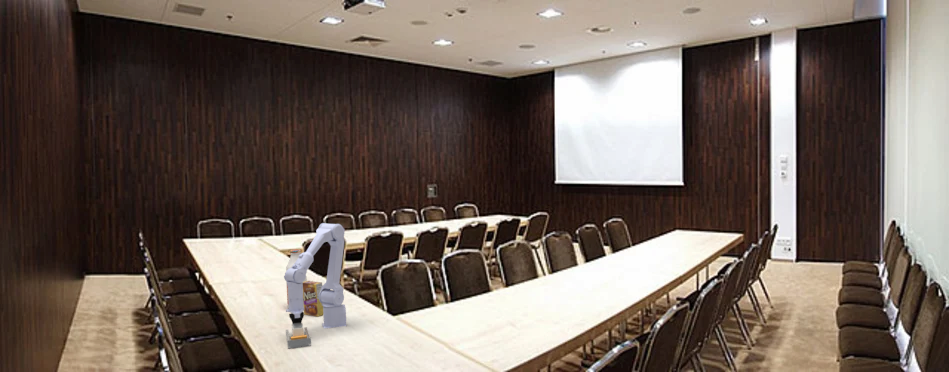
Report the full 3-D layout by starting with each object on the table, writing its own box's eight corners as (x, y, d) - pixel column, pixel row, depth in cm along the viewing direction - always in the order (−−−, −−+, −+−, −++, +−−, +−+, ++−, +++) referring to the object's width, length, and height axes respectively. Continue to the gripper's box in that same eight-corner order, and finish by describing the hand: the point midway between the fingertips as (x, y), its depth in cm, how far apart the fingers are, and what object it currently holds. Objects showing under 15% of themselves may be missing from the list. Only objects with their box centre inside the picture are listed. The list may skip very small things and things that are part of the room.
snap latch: (306, 342, 230) (306, 334, 230) (307, 343, 228) (306, 336, 228) (291, 344, 228) (290, 336, 228) (291, 345, 226) (291, 338, 226)
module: (302, 337, 236) (302, 322, 236) (304, 342, 230) (303, 326, 229) (292, 339, 235) (291, 323, 235) (293, 344, 228) (292, 328, 228)
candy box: (303, 314, 272) (301, 282, 271) (309, 312, 276) (308, 280, 275) (317, 317, 267) (315, 283, 267) (324, 314, 271) (322, 281, 270)
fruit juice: (292, 311, 279) (289, 252, 277) (284, 307, 286) (282, 250, 284) (311, 307, 285) (308, 249, 283) (303, 303, 292) (300, 247, 290)
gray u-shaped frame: (310, 330, 247) (309, 322, 247) (314, 346, 226) (314, 337, 226) (282, 334, 243) (282, 325, 243) (284, 350, 222) (284, 341, 222)
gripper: (284, 294, 242) (286, 327, 242) (286, 303, 228) (287, 337, 229) (302, 293, 244) (303, 325, 245) (304, 301, 230) (306, 335, 231)
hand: (297, 331), depth 237 cm, fingers closed
